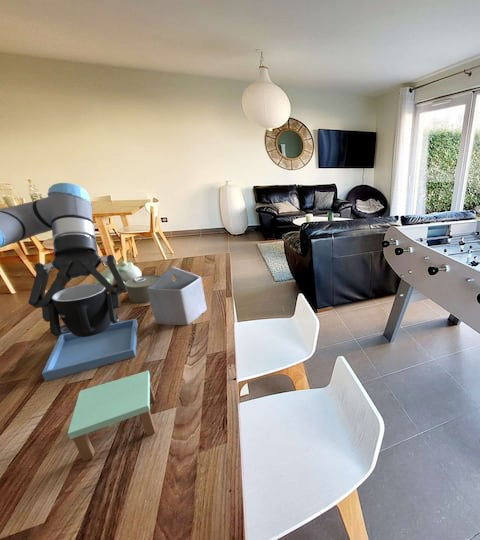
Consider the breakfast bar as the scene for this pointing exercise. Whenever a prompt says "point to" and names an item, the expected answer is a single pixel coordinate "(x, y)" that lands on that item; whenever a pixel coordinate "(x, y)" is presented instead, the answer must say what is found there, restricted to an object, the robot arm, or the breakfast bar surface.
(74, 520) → the breakfast bar surface
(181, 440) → the breakfast bar surface
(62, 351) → the tray
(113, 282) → the figurine
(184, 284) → the planter
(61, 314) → the mug
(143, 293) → the can
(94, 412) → the stool
